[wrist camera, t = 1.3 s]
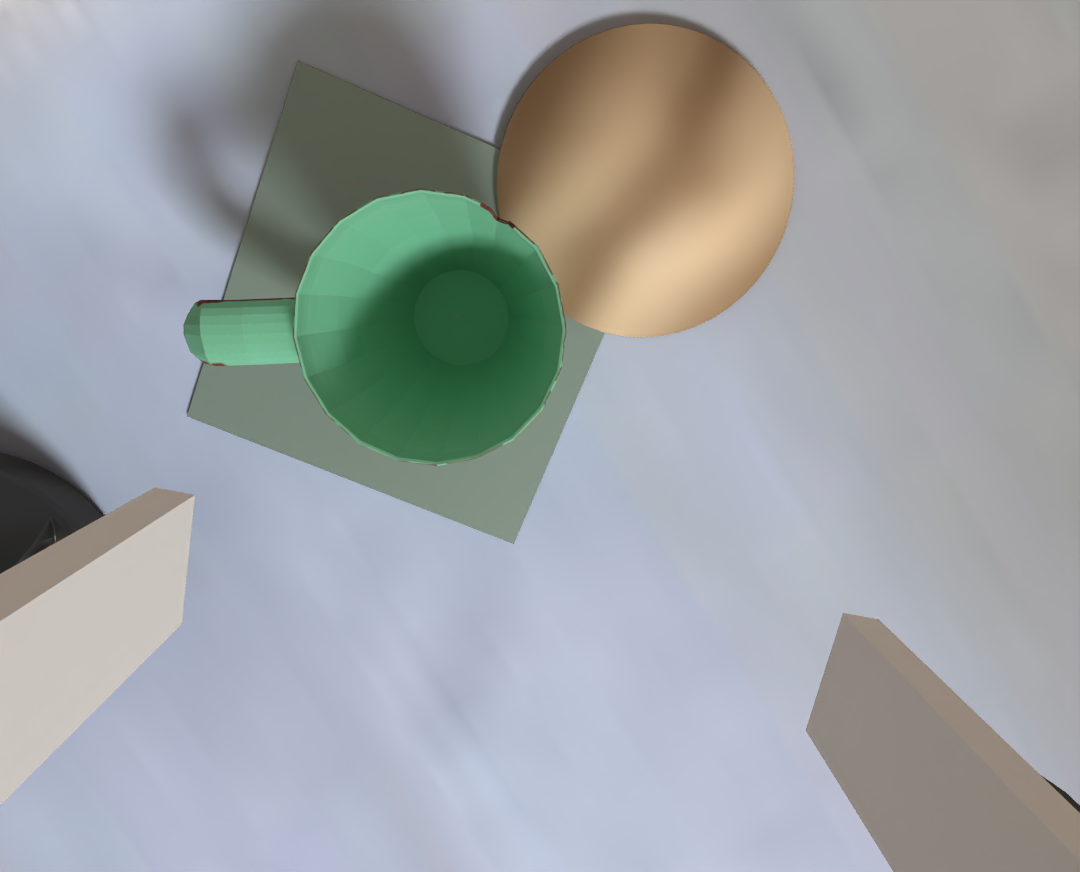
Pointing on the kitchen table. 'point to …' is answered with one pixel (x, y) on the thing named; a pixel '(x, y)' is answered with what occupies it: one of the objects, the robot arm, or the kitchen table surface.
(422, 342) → the mug
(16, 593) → the robot arm
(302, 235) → the tile
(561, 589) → the kitchen table surface
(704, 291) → the coaster
